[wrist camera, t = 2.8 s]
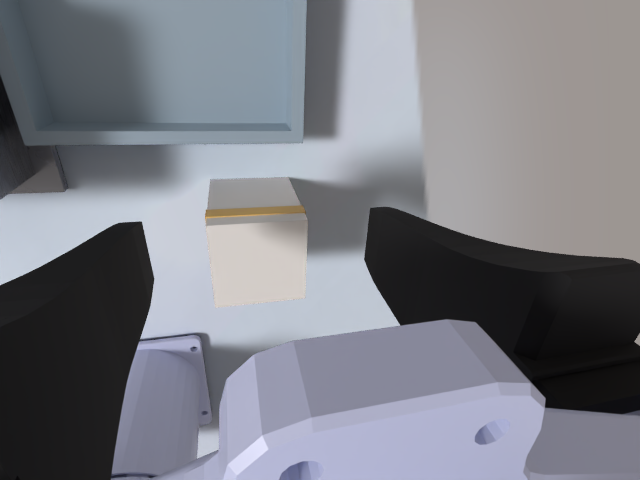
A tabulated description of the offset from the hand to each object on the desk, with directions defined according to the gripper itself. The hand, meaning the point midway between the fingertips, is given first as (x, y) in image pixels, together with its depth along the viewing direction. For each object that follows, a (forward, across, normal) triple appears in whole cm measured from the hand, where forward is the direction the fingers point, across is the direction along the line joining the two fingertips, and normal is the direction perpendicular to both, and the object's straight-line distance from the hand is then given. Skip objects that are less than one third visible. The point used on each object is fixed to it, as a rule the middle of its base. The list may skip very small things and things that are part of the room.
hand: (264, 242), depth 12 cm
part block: (+10, 0, +4) cm, 11 cm away
